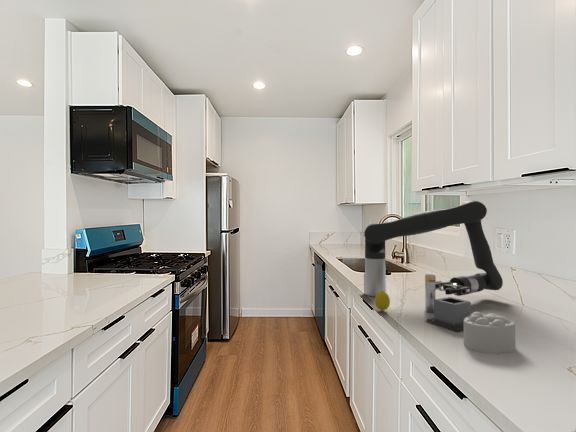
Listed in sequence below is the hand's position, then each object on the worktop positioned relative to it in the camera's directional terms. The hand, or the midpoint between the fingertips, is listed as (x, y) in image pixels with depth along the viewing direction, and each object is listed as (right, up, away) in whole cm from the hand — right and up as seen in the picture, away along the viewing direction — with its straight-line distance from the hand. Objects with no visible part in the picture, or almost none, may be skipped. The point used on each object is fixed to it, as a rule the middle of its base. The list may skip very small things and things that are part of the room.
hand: (436, 289), depth 131 cm
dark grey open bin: (-2, -8, -17) cm, 19 cm away
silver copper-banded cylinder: (-3, -8, -2) cm, 9 cm away
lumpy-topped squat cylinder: (-2, -8, -36) cm, 37 cm away
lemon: (-21, -8, -1) cm, 23 cm away
